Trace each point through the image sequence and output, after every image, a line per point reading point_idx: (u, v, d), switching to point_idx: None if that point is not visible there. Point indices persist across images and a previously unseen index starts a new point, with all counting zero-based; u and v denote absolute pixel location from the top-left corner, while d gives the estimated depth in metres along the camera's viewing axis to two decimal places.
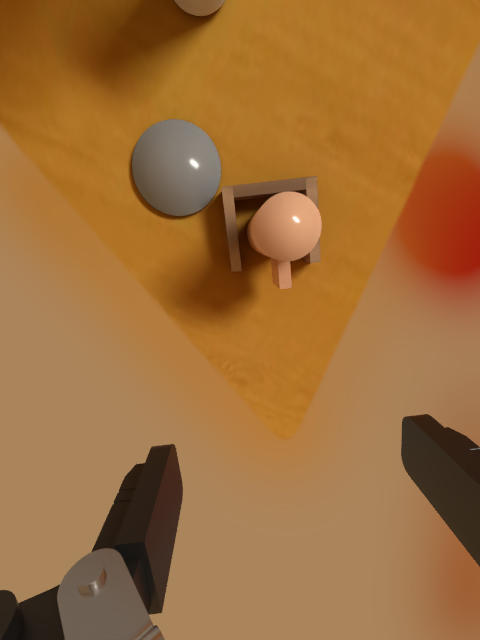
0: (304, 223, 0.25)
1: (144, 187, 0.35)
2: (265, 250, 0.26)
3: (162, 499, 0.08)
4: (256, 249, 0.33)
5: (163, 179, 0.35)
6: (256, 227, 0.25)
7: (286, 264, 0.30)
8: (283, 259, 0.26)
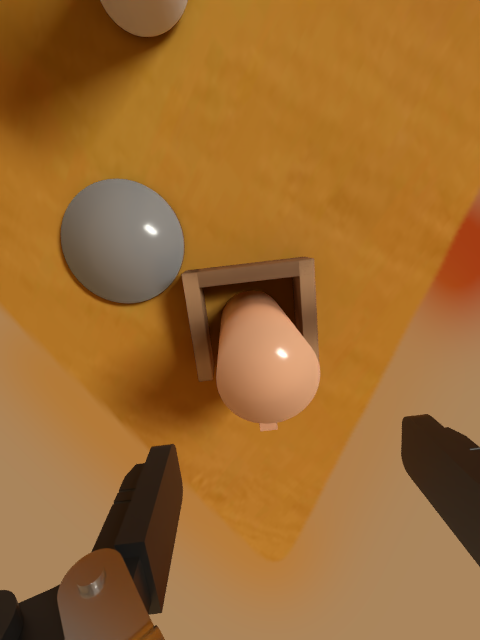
0: (292, 372, 0.16)
1: (79, 267, 0.25)
2: (233, 409, 0.17)
3: (162, 499, 0.08)
4: None
5: (104, 257, 0.25)
6: (218, 378, 0.16)
7: None
8: (261, 421, 0.17)
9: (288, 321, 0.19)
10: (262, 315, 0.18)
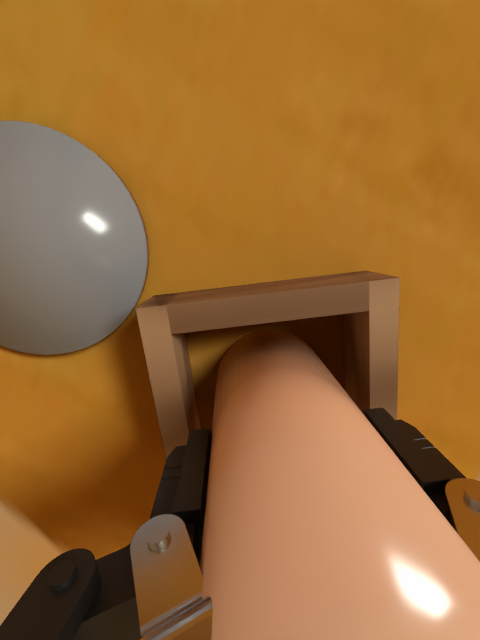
0: None
1: None
2: None
3: (207, 476, 0.09)
4: None
5: None
6: None
7: None
8: None
9: (393, 462, 0.07)
10: (327, 456, 0.06)
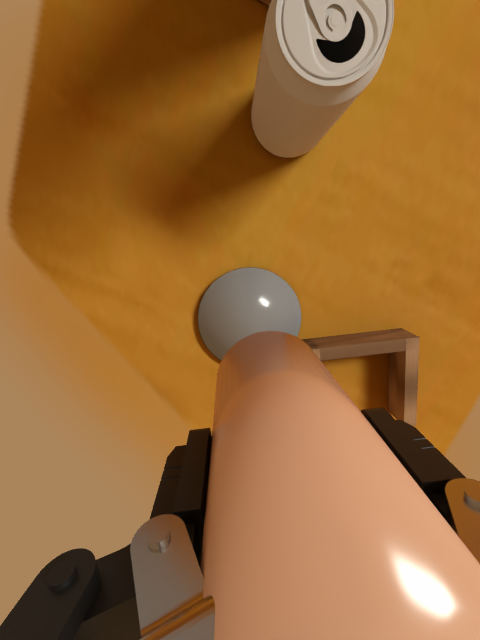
0: None
1: (211, 339, 0.30)
2: None
3: (207, 475, 0.09)
4: None
5: (233, 330, 0.29)
6: None
7: None
8: None
9: (393, 463, 0.07)
10: (327, 457, 0.06)
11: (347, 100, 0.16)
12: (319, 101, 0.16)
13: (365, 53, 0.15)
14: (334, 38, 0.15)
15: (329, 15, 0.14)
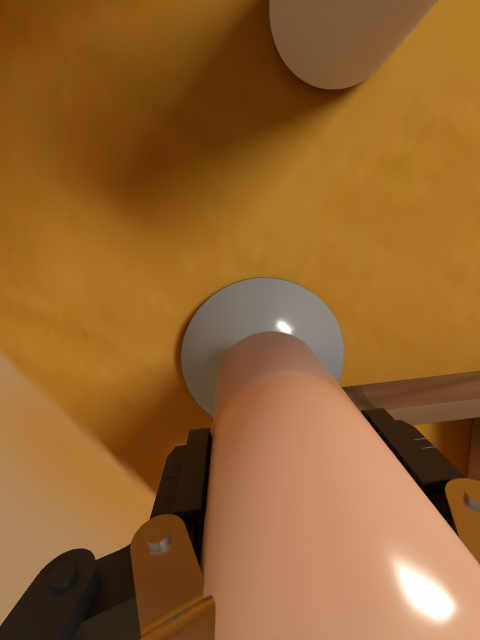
0: None
1: (202, 389, 0.19)
2: None
3: (207, 475, 0.09)
4: None
5: None
6: None
7: None
8: None
9: (393, 464, 0.07)
10: (327, 458, 0.06)
11: None
12: None
13: None
14: None
15: None
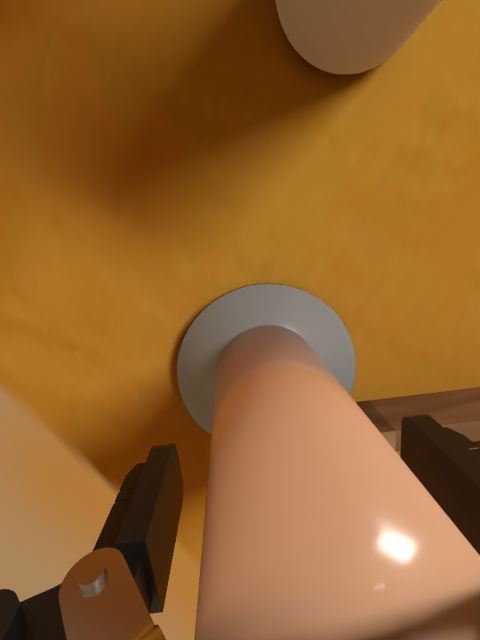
0: None
1: (200, 406, 0.17)
2: None
3: (163, 498, 0.08)
4: None
5: None
6: None
7: None
8: None
9: (376, 435, 0.08)
10: (317, 428, 0.07)
11: None
12: None
13: None
14: None
15: None
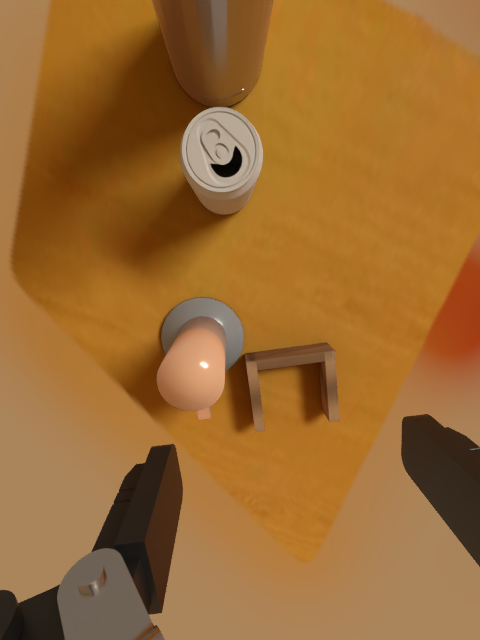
0: (206, 377, 0.25)
1: None
2: (169, 402, 0.25)
3: (162, 499, 0.08)
4: None
5: None
6: (158, 382, 0.25)
7: None
8: (188, 409, 0.26)
9: (210, 342, 0.27)
10: (191, 339, 0.27)
11: (239, 195, 0.24)
12: (219, 198, 0.24)
13: (244, 171, 0.22)
14: (222, 163, 0.22)
15: (217, 149, 0.22)
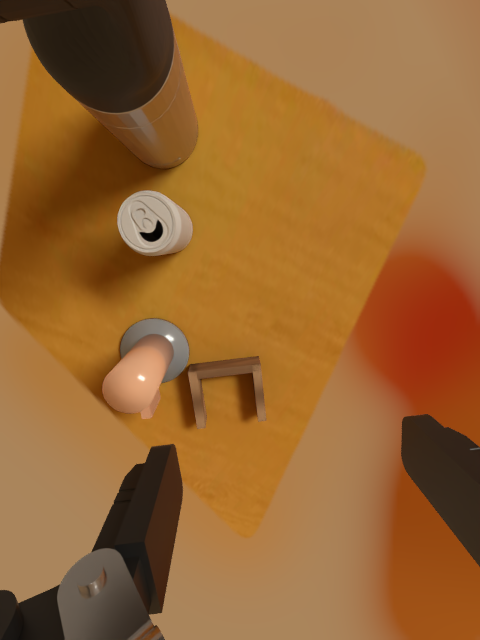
0: (140, 388, 0.33)
1: None
2: (112, 406, 0.33)
3: (162, 499, 0.08)
4: None
5: None
6: (103, 391, 0.33)
7: None
8: (127, 412, 0.34)
9: (148, 360, 0.35)
10: (132, 357, 0.35)
11: (165, 252, 0.32)
12: (149, 254, 0.31)
13: (164, 237, 0.30)
14: (148, 231, 0.30)
15: (144, 222, 0.30)
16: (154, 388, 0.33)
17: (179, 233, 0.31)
